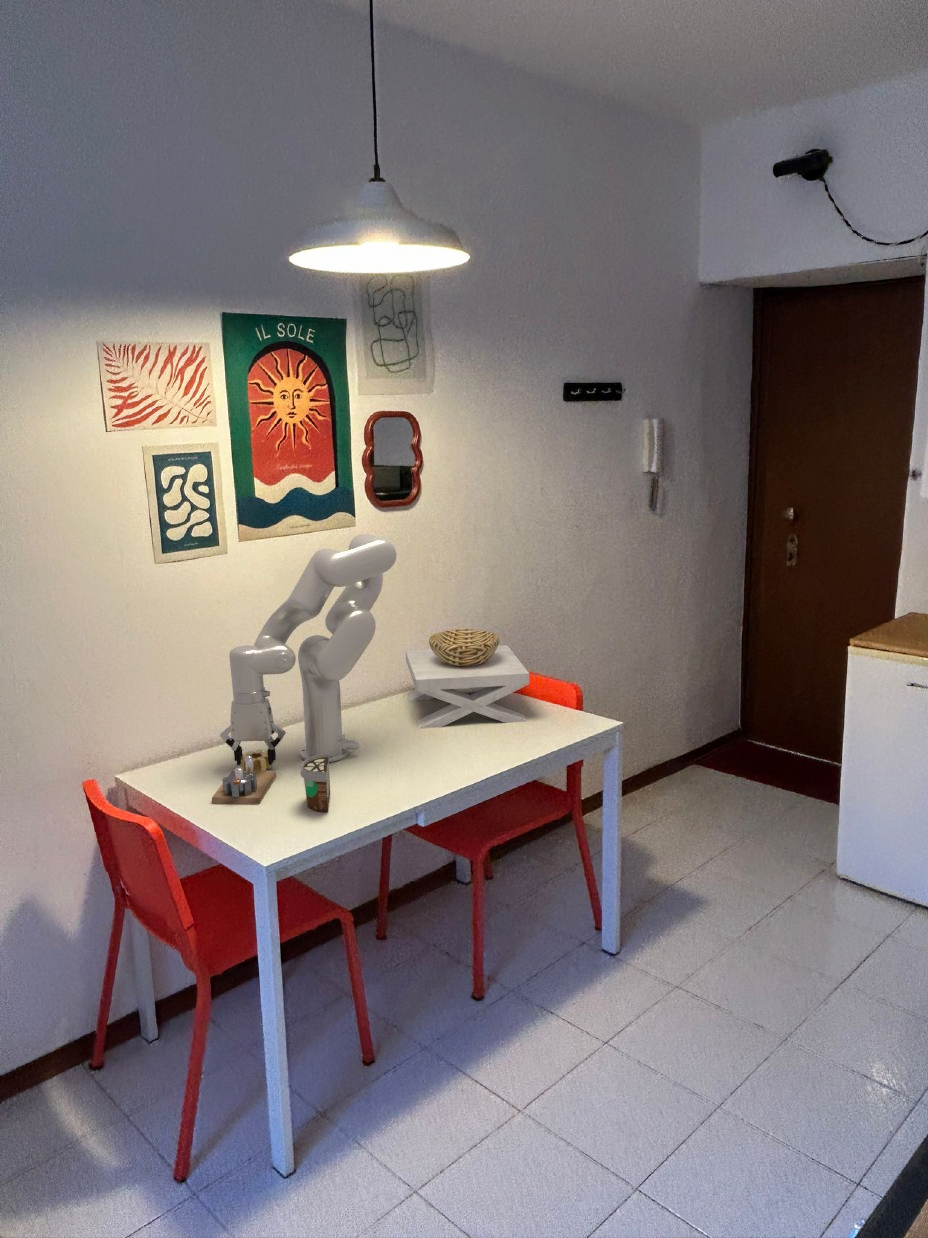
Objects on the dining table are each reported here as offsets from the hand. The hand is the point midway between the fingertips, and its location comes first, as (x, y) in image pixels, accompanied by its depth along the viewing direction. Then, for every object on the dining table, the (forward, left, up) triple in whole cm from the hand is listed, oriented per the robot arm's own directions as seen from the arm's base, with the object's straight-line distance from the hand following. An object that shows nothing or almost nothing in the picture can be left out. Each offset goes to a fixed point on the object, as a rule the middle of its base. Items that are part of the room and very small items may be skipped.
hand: (255, 762), depth 238 cm
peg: (-1, +8, 0) cm, 8 cm away
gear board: (-1, +13, -2) cm, 13 cm away
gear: (-1, +17, 0) cm, 17 cm away
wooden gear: (0, 0, -1) cm, 1 cm away
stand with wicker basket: (-50, -49, -2) cm, 70 cm away
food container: (-19, +21, -2) cm, 29 cm away
